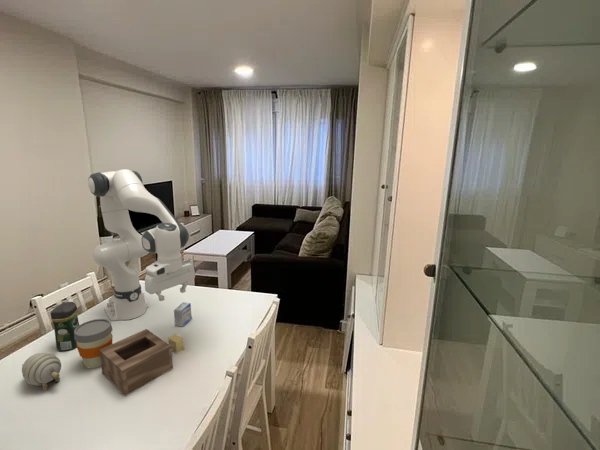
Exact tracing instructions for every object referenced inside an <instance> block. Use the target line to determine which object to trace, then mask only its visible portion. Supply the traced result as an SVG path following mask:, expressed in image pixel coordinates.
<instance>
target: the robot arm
mask: <svg viewBox="0 0 600 450" xmlns="http://www.w3.org/2000/svg"><path fill="white" fill-rule="evenodd" d="M87 185H88V188H89V191H90V193H91V194H92V195H94V196H96V197H99V198H100V199H99V202H100V203H99V204H100V210H101V215H102V220H103V225H104V228H105V229H106V230H107V231H108V232H111V233H114V234H117V235H118V236H119V238H120V239H117V240H112V241H111V240H110V241H107V242H104V243H101V244H99V245H96V246H95V247H94V249H93V251H92V258H93V260H94V262H95V263H96V264H97V265H98V266H100V267H104V268H105V269H106V270H108V271H109V273H110V275H111V276H112V279H113V284H114V287H113V295H112V296H110V297H109V299H108V302H107V303H106V306H105V307H104V311H105V313H106V315H107V317H108V318H109V321H127V320H133V319H136V318H139V317H141V316H143V315H144V314H145V313H146V311H147V309H148V308H149V307H150V305H149V304H148V303H147V302H146V298H145V297H146V296H145V293H144V292H142V286H141V284H140V274H139V271H138V270H137V268H136V267H133V266H128V265H126V262H129V261H132V260H137V259H140V258H143V257H145V256H148V255H149V253H151V254H157V260H155V261H154V262H152V263H151V264H150V265H148V266H146V267H145V273H146V275H145V277H144V289H145V292H146V293H148V294H150V295H154V294H155V295H156V296H158V301H160V302H163V301H165V295H163V294H162V291H165V290H169V289H171V288H174V287H177V286H179V285H181V287H179V292H180V293H182V294H184V293H186V292H187V291H186V289H187V286H188V283H189V282H190V281H193V280H195V278H196V271H195V268H194V260H193V259H191V258H186V259H182V254H181V248H184V247H186V245H187V244H188V241H189V239H190V235H189V232H188V229H187V228H186V227H185V226H184V225H183V224H182V223H181V222H180V221H179V220H178V219H177V217H176V216H175V215H174V214H173V213H172V211H170V209H169V208H168V207H167V206H166V204H165V203H164V202H163V201H162V200H161V199H160V198H159V197H156V196H154V195H153V194H151V192H149V191H148V190H147V188H145V186H144V184H143V178H142V175H141V174H140V173H139V172H138V171H134V170H131V169H127V168H126V169H123V168H121V169H119V170H112V171H110V170H109V171H105V172H100V171H99V172H95V173H91V174H90V175H89V177H88V180H87ZM129 211H132V212H135V213H146V214H150V215H154V216H155V217H157V218H158V219H159V220H160V221H161V223H159V224H157V225H156V226H155V227H154V228H151V229H149V230H145V231H144V233H143V234H141V233H139V232H138V231H137V230H136V228H135V227H134V226H133V222H132V221H131V217H130V214H129V213H130V212H129Z"/></svg>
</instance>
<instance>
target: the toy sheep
mask: <svg viewBox="0 0 600 450" xmlns="http://www.w3.org/2000/svg"><path fill="white" fill-rule="evenodd" d="M61 370H62V362H61V360H60V358H59V357H58V356H57V355H56V354H54V353H51V352H37V353H34V354H31V355H30V356H29V357H28V358H27V359H26V360H25V361H24V362H23V364H21V373H22V378H23V379H24V380H25V381H26V383H27V384H29V385H32V386H37V387H38V386H39V387H40V386H42V389H43V391H46V390H48V388H49V387H48V383H50V382H51V381H53V380H54V381H55V383H59V382H60V381H61V380H60V372H61Z"/></svg>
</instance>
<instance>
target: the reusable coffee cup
mask: <svg viewBox="0 0 600 450" xmlns="http://www.w3.org/2000/svg"><path fill="white" fill-rule="evenodd" d="M112 332H113V326H112V322H111V320H110V319H107V318H97V319H95V318H94V319H92V320H88V321H85V322H82V323H80V324H79V326H78V327H76V329H75V330H74V339H75V341H76V342H77V344H76V349H77V352H78V354H79V357H81V359H82V362H83V365H84V367H85V368H88V369H96V368H101V360H100V353H99V350H100V349H102V348H104V347H107V346H109V345H111V344H113V334H112Z"/></svg>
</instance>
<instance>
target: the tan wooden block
mask: <svg viewBox="0 0 600 450" xmlns="http://www.w3.org/2000/svg"><path fill="white" fill-rule="evenodd" d="M167 340H168V342H167V343H168V344H169V345H171V351H173V352H174V353H176V354H179V353H180V352H182V351H184V350H185V340H184V338H183V337H182V336H180V335H178V334H176V333H175V334H173V335H171V336H168V337H167Z"/></svg>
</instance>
